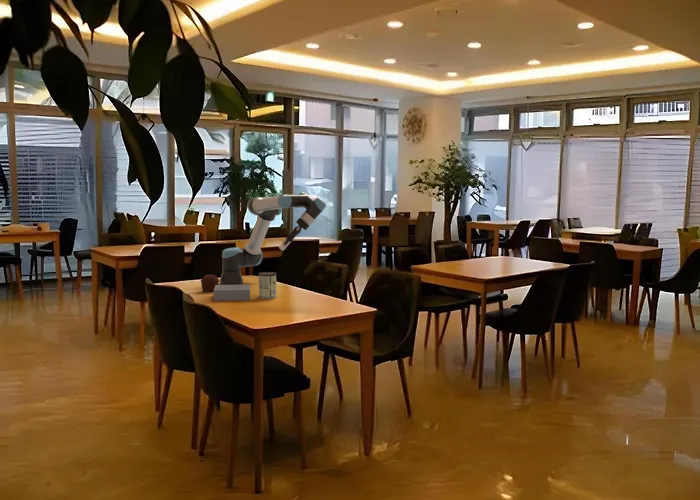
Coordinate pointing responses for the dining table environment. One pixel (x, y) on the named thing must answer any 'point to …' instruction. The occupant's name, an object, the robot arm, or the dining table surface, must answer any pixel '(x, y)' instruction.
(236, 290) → the grey block
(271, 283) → the coffee can
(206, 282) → the muffin
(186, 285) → the dining table surface
